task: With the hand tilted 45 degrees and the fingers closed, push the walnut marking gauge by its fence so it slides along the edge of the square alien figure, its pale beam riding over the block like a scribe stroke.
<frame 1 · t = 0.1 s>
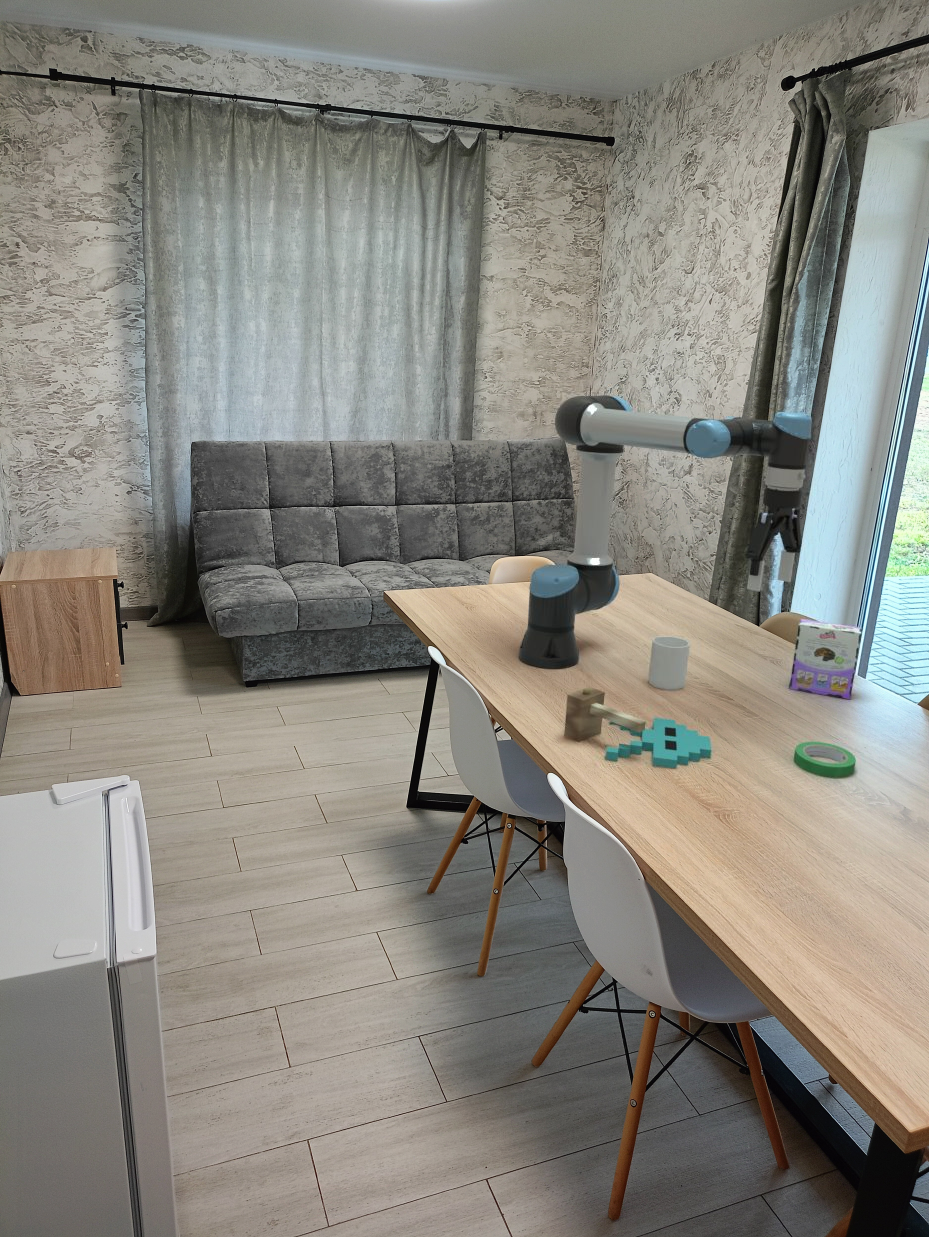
hand: (769, 585, 197), 28 cm above the table, tool pointing down, fingers open, 13 cm apart
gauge: (582, 734, 185), on the table
tape roll: (823, 766, 176), on the table
candy box: (819, 691, 216), on the table
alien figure: (658, 748, 182), on the table
mug: (664, 682, 217), on the table
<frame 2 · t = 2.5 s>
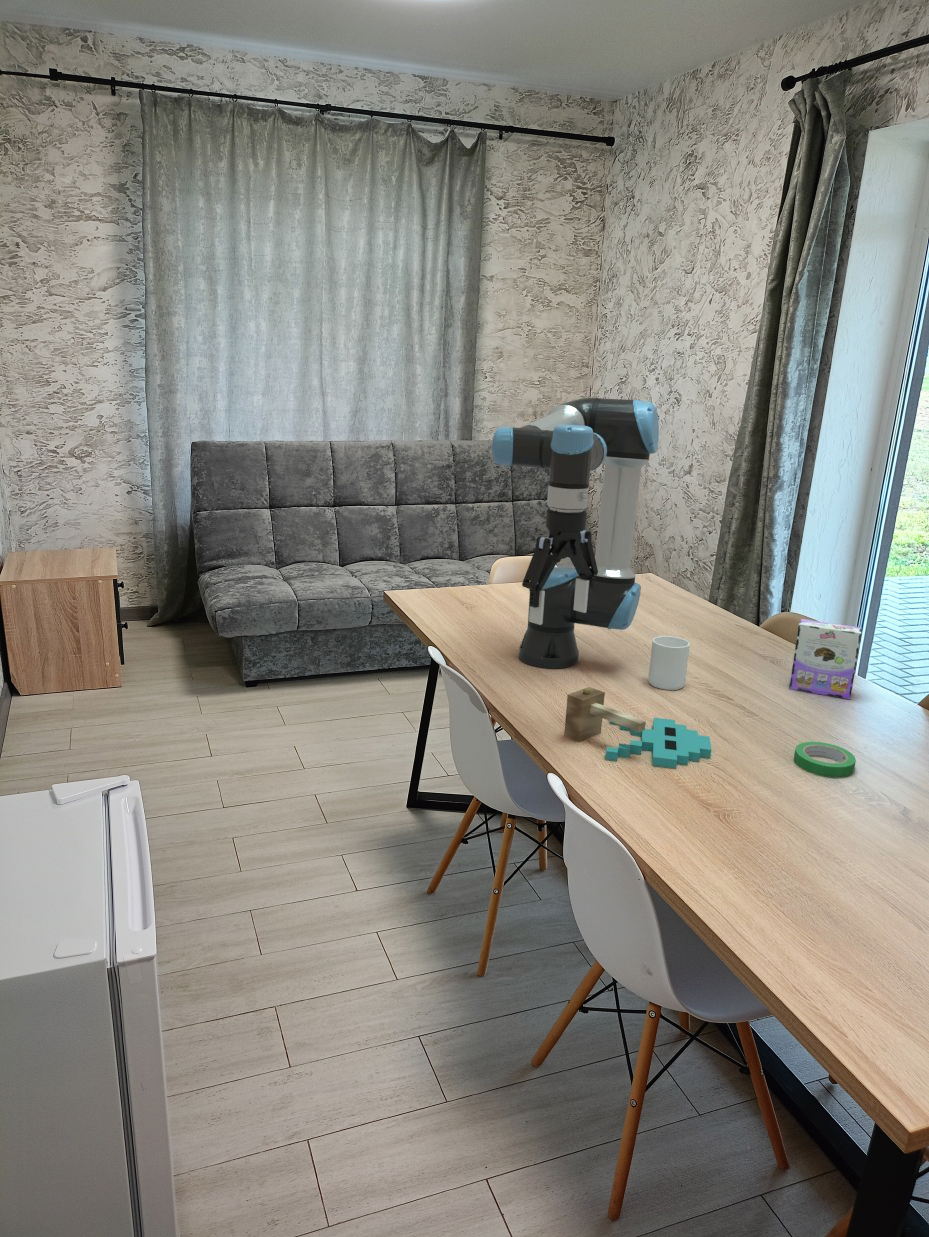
hand: (558, 617, 177), 25 cm above the table, tool pointing down, fingers open, 13 cm apart
nothing on the table moved.
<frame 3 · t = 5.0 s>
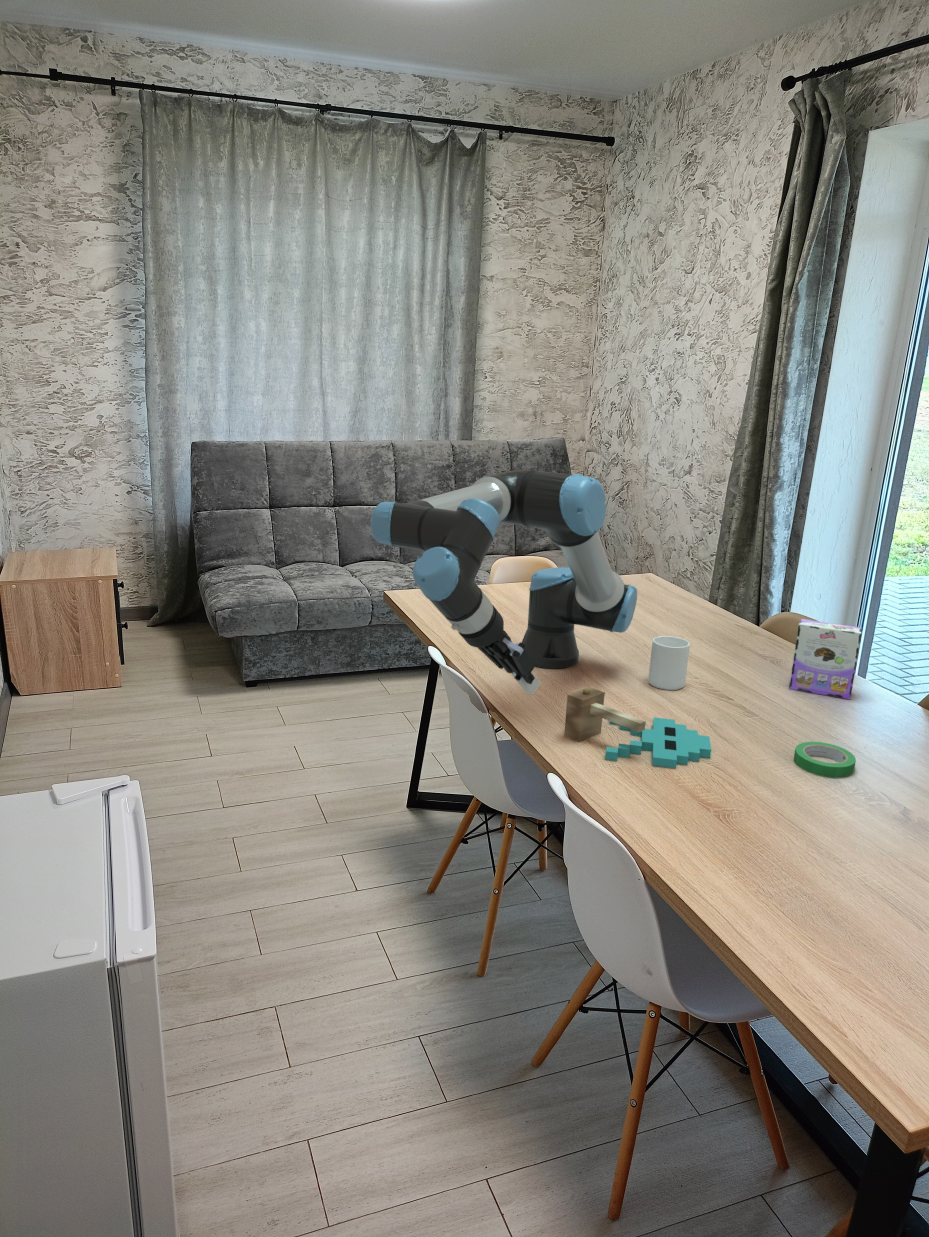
hand: (533, 687, 169), 14 cm above the table, tool tilted 45°, fingers closed
nothing on the table moved.
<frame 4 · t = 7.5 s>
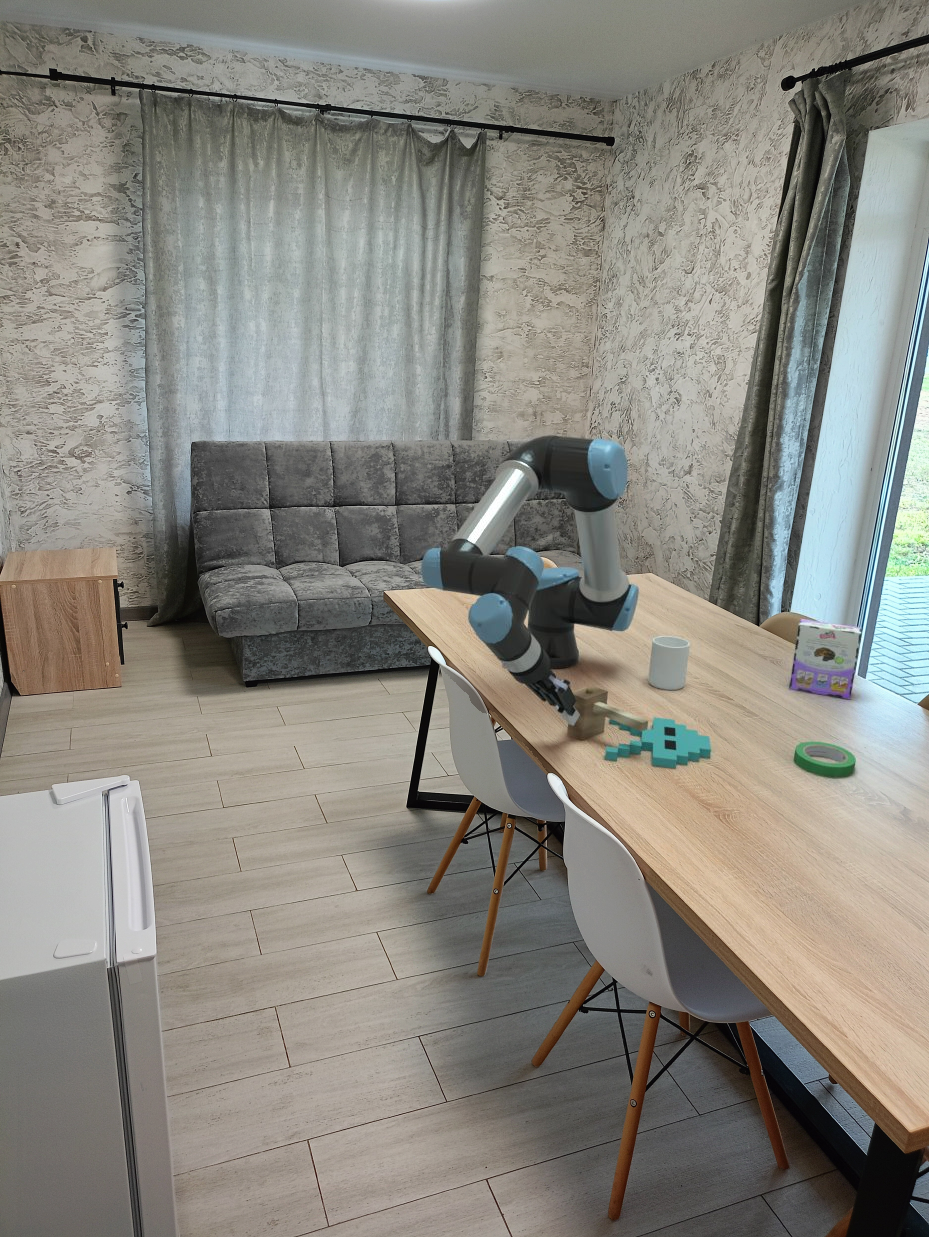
hand: (573, 719, 181), 5 cm above the table, tool tilted 45°, fingers closed
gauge: (585, 733, 186), on the table, touching gripper
everything else where it was.
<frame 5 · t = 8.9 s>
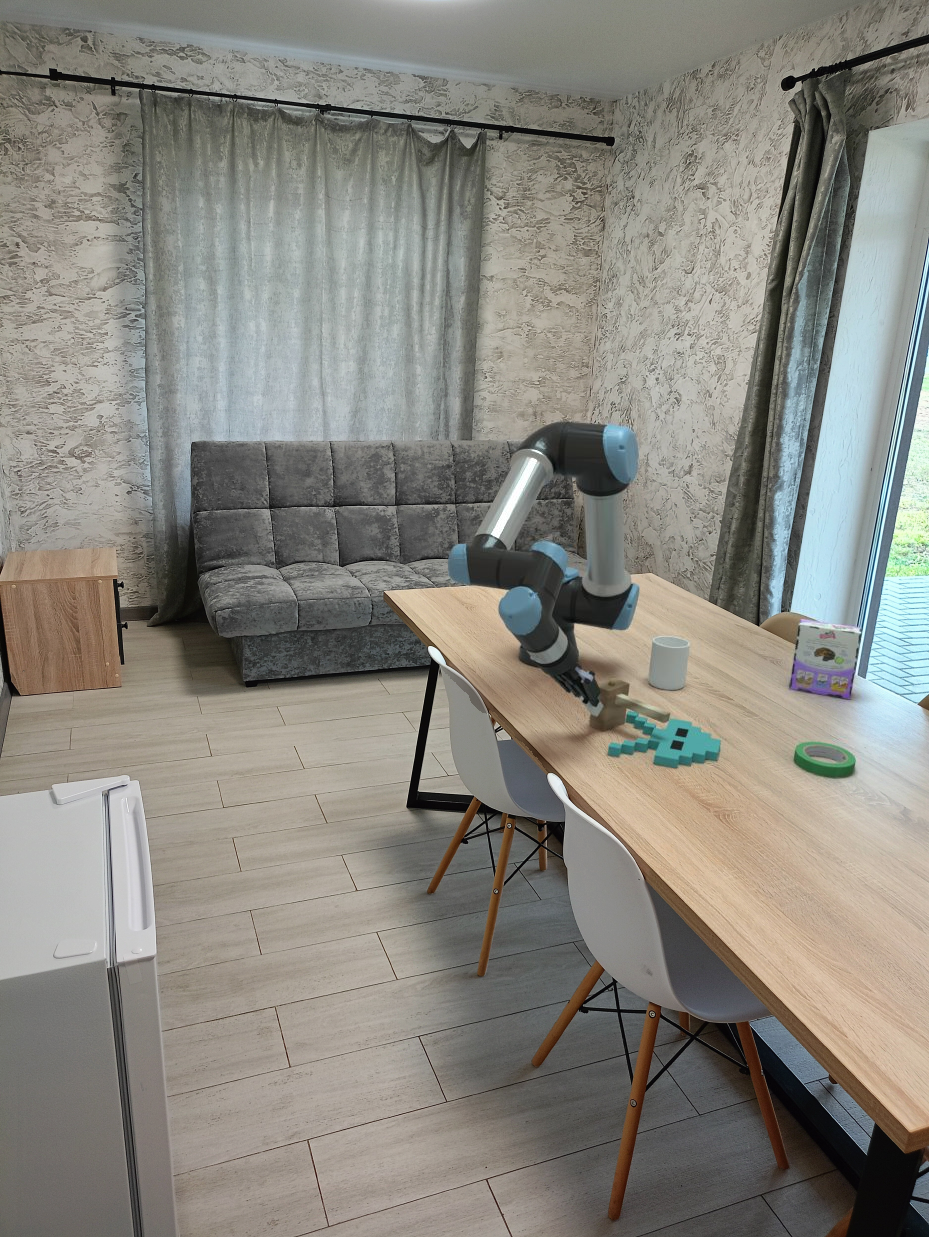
hand: (597, 710, 186), 5 cm above the table, tool tilted 45°, fingers closed
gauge: (607, 724, 191), on the table, touching gripper
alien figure: (667, 747, 182), on the table
everything else where it was.
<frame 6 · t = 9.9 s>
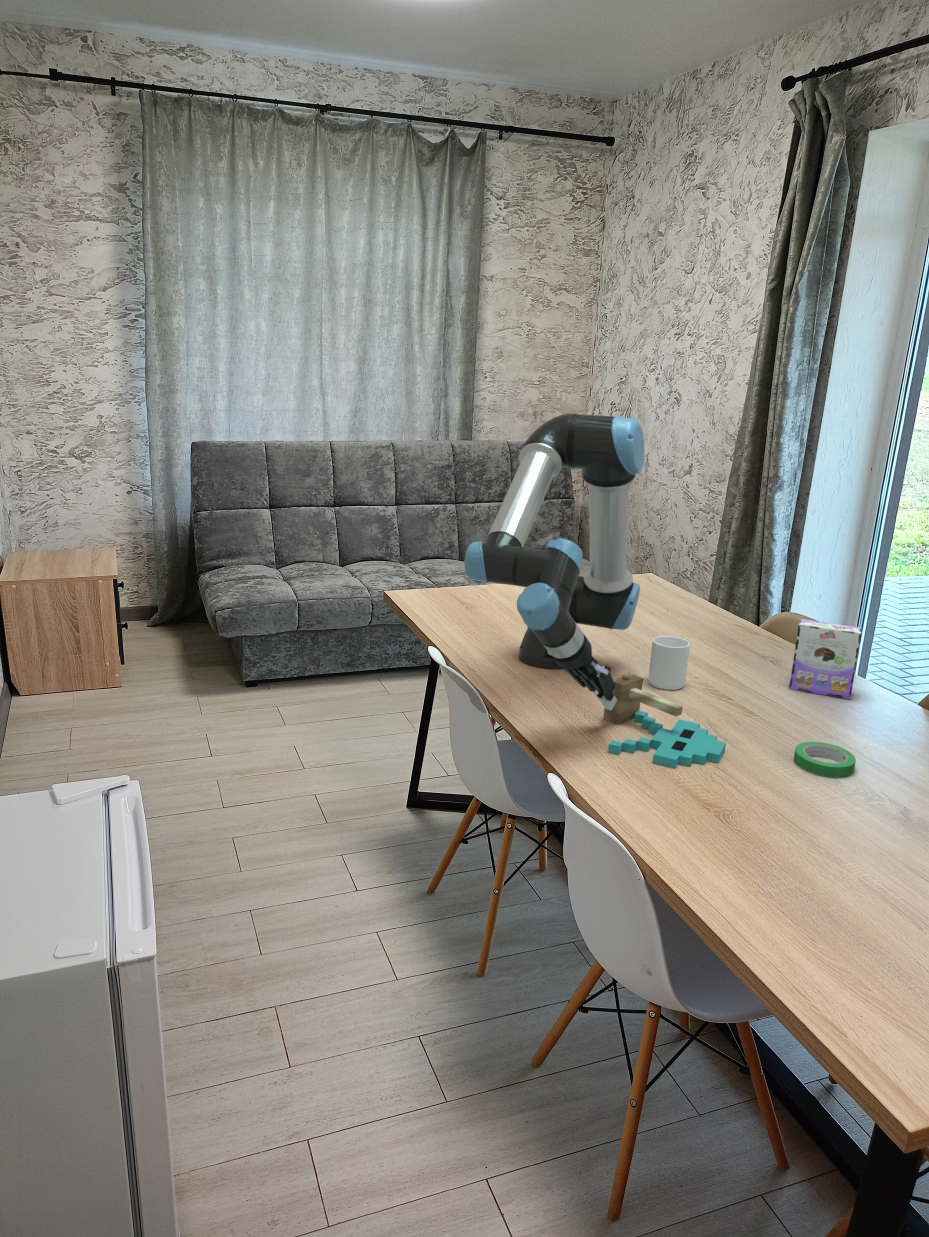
hand: (611, 704, 189), 5 cm above the table, tool tilted 45°, fingers closed
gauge: (621, 717, 194), on the table, touching gripper
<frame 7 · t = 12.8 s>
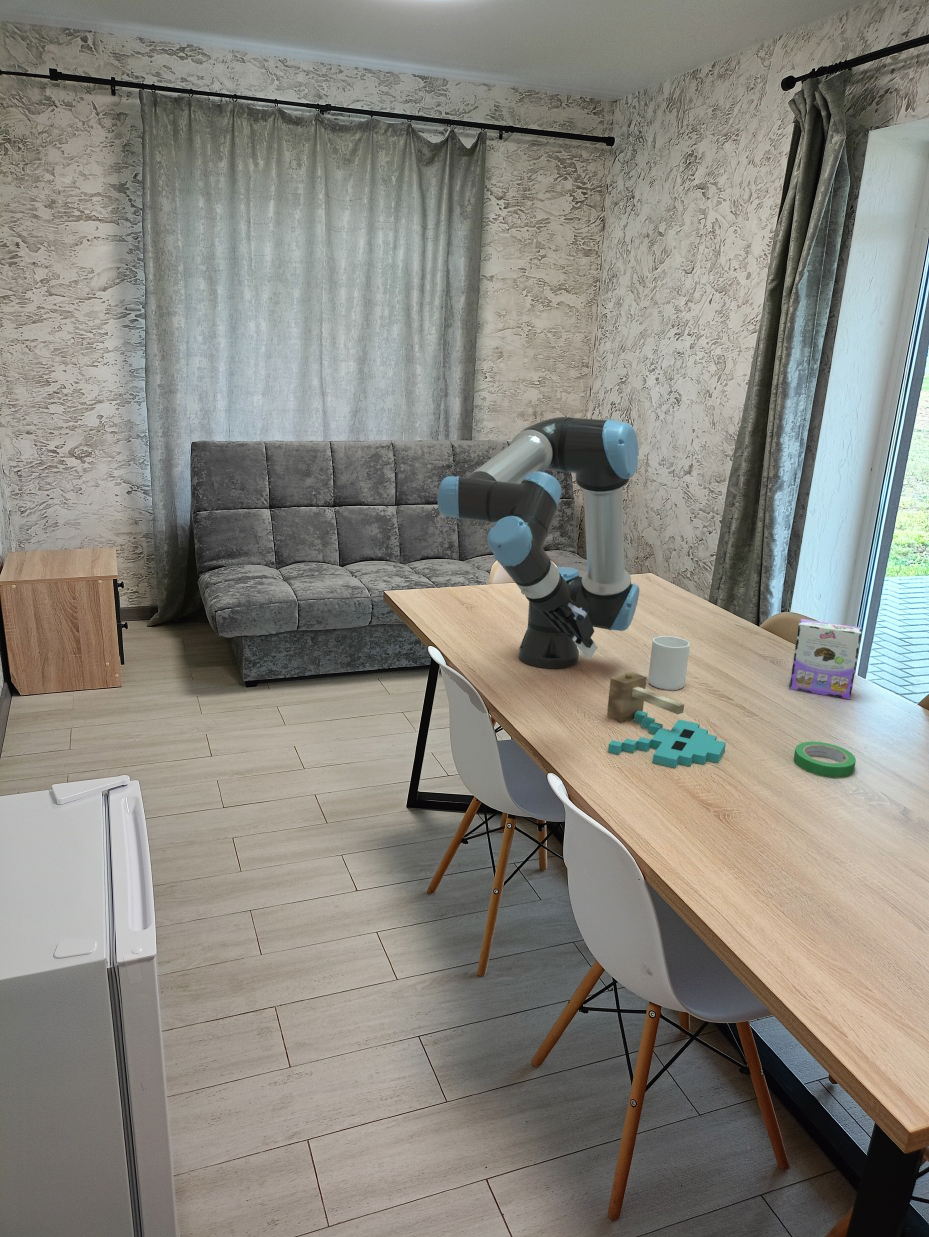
hand: (591, 652, 180), 18 cm above the table, tool tilted 45°, fingers closed
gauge: (624, 716, 195), on the table
everything else where it was.
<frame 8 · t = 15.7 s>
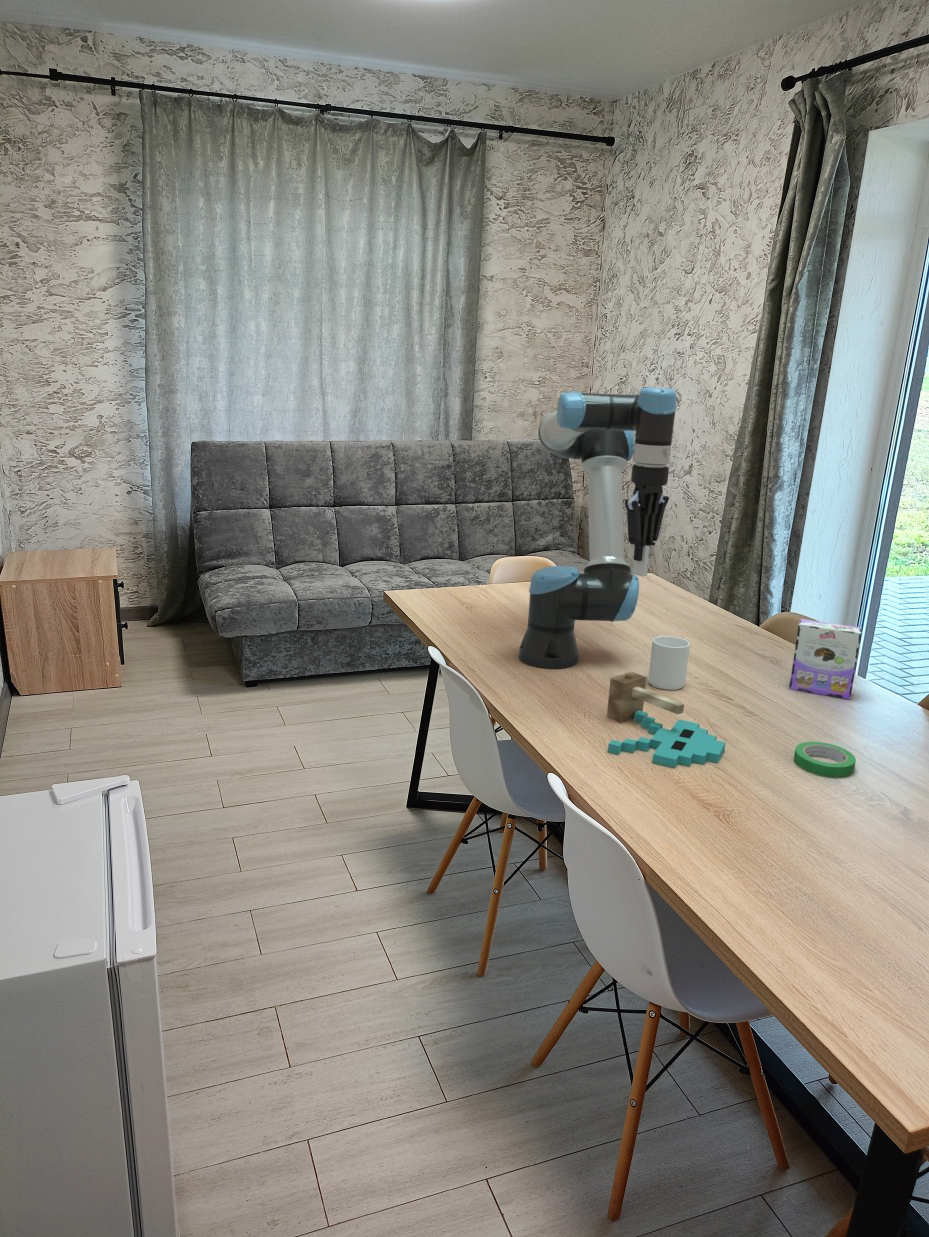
hand: (639, 574, 195), 29 cm above the table, tool pointing down, fingers closed
nothing on the table moved.
at the end: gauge moved 14.6 cm from its start; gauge inside the target area (0.6 cm from its centre), on the table; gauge tilted 0° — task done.
